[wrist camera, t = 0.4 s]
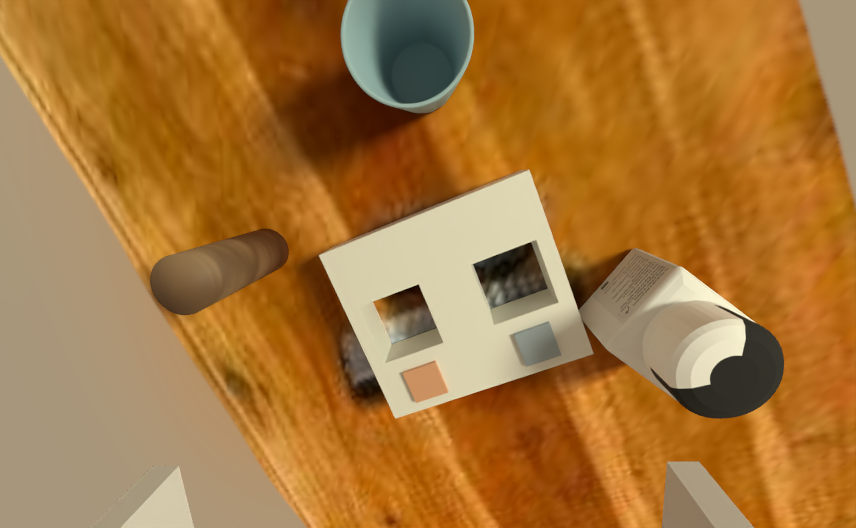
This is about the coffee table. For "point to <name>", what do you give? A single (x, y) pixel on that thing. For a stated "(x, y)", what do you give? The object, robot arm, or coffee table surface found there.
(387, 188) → the coffee table surface
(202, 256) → the dowel
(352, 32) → the cup
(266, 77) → the coffee table surface
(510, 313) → the socket board
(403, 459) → the coffee table surface
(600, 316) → the container
